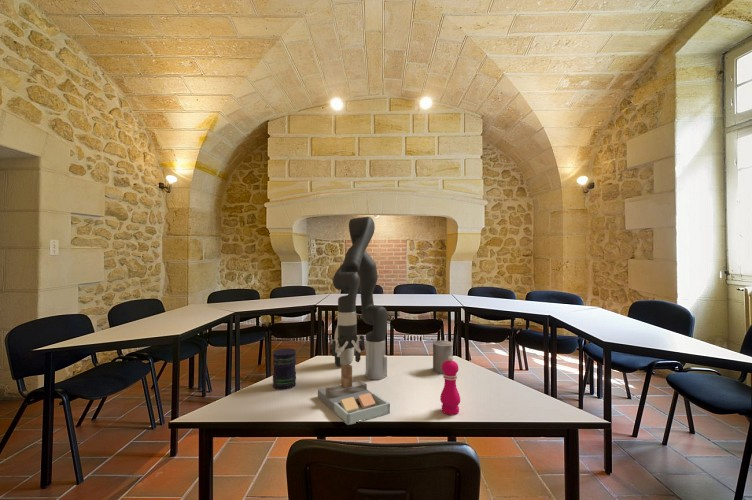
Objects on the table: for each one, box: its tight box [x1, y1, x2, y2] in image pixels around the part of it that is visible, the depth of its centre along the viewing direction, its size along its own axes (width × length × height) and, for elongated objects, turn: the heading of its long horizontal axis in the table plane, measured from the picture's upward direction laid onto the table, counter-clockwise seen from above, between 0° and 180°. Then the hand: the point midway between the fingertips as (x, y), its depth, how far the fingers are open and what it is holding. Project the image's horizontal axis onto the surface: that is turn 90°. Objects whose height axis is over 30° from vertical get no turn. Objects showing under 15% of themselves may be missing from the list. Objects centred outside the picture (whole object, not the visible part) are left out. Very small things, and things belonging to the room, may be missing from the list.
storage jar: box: [272, 348, 297, 391], centre depth 152 cm, size 10×10×15 cm
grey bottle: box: [334, 322, 355, 366], centre depth 180 cm, size 10×10×28 cm
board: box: [317, 381, 374, 413], centre depth 137 cm, size 17×16×3 cm
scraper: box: [325, 364, 368, 399], centre depth 137 cm, size 16×4×10 cm, turn 121°
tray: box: [333, 392, 391, 426], centre depth 125 cm, size 17×11×4 cm, turn 121°
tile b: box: [340, 397, 359, 413], centre depth 126 cm, size 5×5×2 cm
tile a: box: [358, 393, 376, 409], centre depth 130 cm, size 5×5×2 cm
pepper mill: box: [439, 356, 461, 416], centre depth 127 cm, size 7×7×20 cm
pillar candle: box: [432, 340, 454, 375], centre depth 171 cm, size 10×10×15 cm
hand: (347, 363), depth 136 cm, fingers open, 8 cm apart
